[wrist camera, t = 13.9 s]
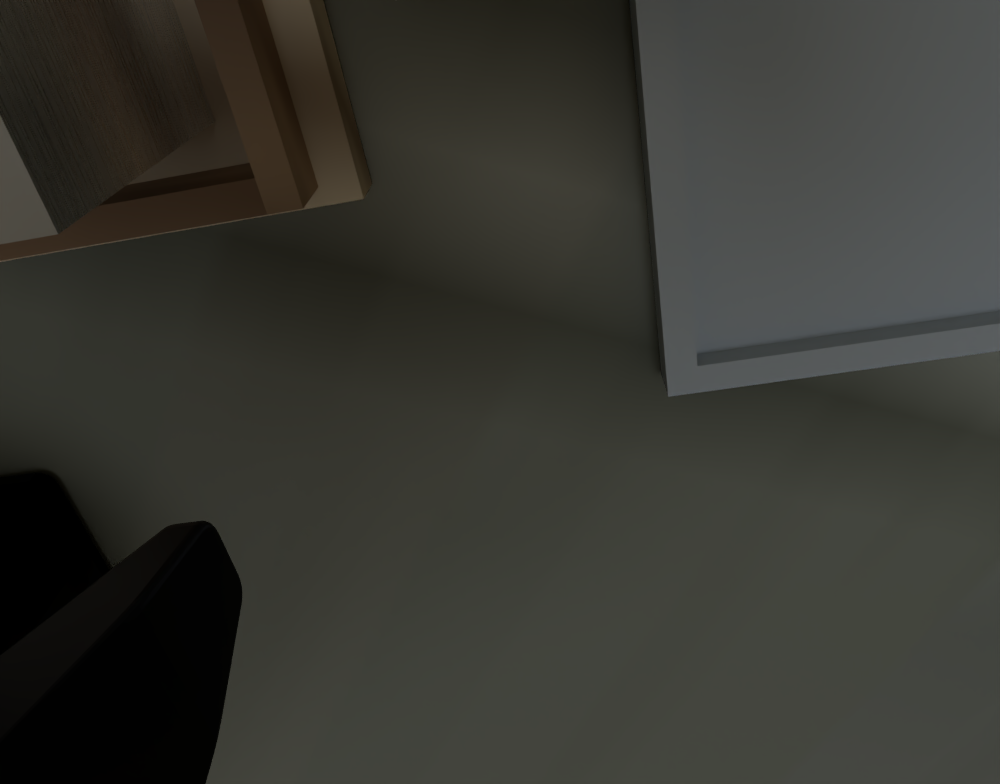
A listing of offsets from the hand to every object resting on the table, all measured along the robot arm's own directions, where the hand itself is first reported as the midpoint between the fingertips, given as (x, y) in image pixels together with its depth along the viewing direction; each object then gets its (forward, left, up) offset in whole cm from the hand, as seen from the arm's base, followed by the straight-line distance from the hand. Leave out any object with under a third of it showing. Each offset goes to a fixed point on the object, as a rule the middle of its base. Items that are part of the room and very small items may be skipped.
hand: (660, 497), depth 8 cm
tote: (-1, -7, -13) cm, 15 cm away
